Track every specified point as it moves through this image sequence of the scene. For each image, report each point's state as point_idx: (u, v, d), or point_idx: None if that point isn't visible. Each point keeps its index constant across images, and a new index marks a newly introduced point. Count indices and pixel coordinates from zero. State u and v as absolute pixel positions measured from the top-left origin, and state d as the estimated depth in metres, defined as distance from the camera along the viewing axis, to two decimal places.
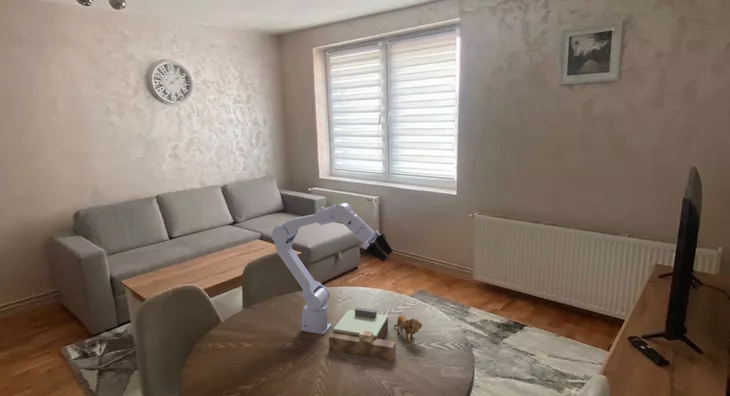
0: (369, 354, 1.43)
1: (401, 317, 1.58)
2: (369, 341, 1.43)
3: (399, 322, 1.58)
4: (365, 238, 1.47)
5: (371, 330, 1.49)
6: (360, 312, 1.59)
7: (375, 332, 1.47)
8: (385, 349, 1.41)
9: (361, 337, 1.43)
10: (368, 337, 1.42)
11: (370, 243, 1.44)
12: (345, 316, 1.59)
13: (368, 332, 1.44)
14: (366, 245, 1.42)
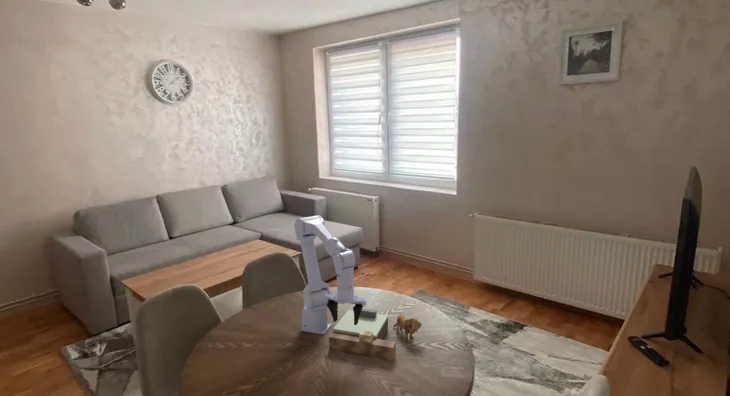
0: (369, 354, 1.43)
1: (400, 317, 1.58)
2: (369, 341, 1.43)
3: (398, 322, 1.58)
4: None
5: (371, 330, 1.49)
6: None
7: (375, 332, 1.47)
8: (385, 349, 1.41)
9: (361, 337, 1.43)
10: (368, 337, 1.42)
11: (331, 301, 1.45)
12: (345, 316, 1.59)
13: (368, 332, 1.44)
14: None
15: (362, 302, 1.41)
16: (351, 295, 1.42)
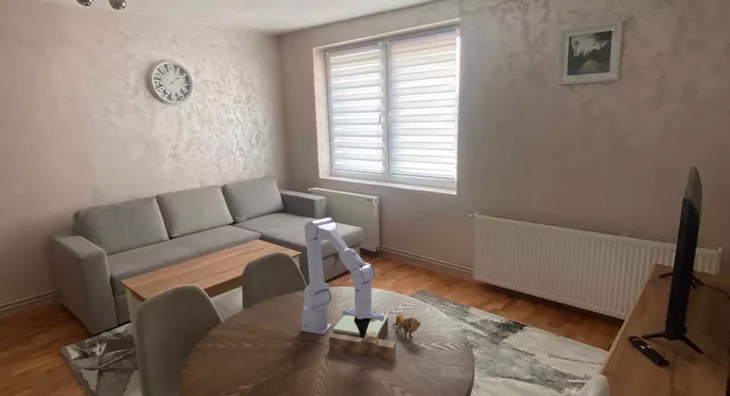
0: (369, 354, 1.43)
1: (399, 316, 1.59)
2: (375, 342, 1.42)
3: (398, 321, 1.59)
4: None
5: (371, 330, 1.49)
6: None
7: None
8: (385, 349, 1.41)
9: (367, 338, 1.43)
10: (374, 338, 1.42)
11: (349, 315, 1.44)
12: (345, 316, 1.59)
13: (374, 333, 1.44)
14: None
15: (380, 317, 1.40)
16: (369, 310, 1.41)
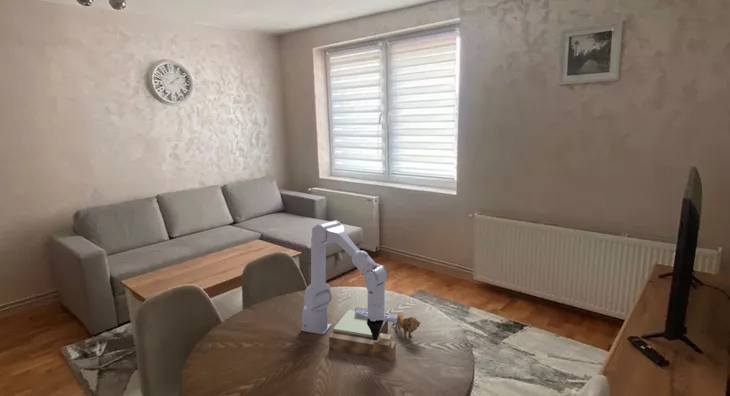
0: (369, 354, 1.43)
1: (399, 315, 1.59)
2: (388, 344, 1.41)
3: (397, 320, 1.59)
4: None
5: None
6: None
7: None
8: (385, 349, 1.41)
9: (380, 341, 1.41)
10: (387, 340, 1.40)
11: None
12: (345, 316, 1.59)
13: (386, 335, 1.42)
14: None
15: (393, 319, 1.39)
16: (382, 312, 1.39)
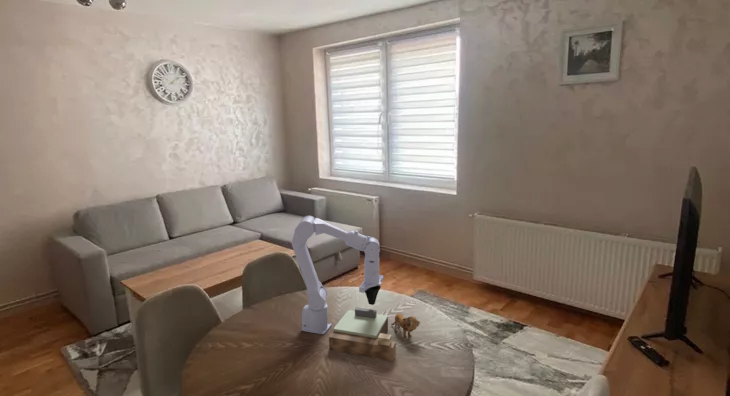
0: (369, 354, 1.43)
1: (398, 315, 1.59)
2: (388, 344, 1.41)
3: (396, 320, 1.59)
4: (367, 281, 1.56)
5: (371, 330, 1.49)
6: (360, 312, 1.59)
7: (375, 332, 1.47)
8: (385, 349, 1.41)
9: (380, 341, 1.41)
10: (387, 340, 1.40)
11: (366, 290, 1.55)
12: (345, 316, 1.59)
13: (387, 335, 1.42)
14: (362, 291, 1.53)
15: (382, 277, 1.64)
16: None
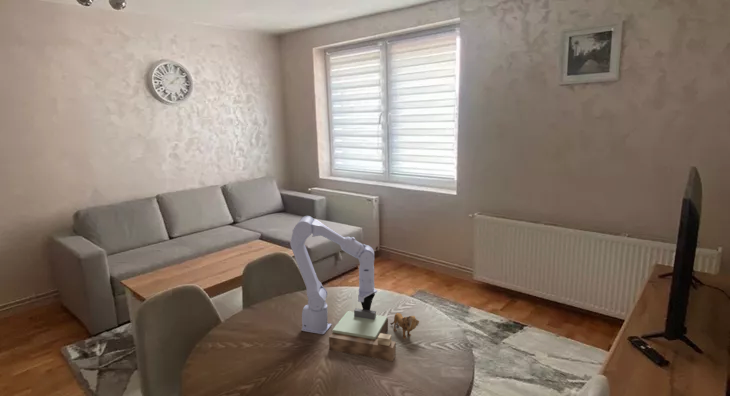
0: (369, 354, 1.43)
1: (398, 315, 1.60)
2: (388, 344, 1.41)
3: (396, 320, 1.60)
4: (364, 290, 1.56)
5: (370, 331, 1.48)
6: (359, 313, 1.58)
7: (374, 333, 1.47)
8: (385, 349, 1.41)
9: (380, 341, 1.41)
10: (387, 340, 1.40)
11: None
12: (344, 317, 1.59)
13: (387, 335, 1.42)
14: (361, 300, 1.52)
15: None
16: None
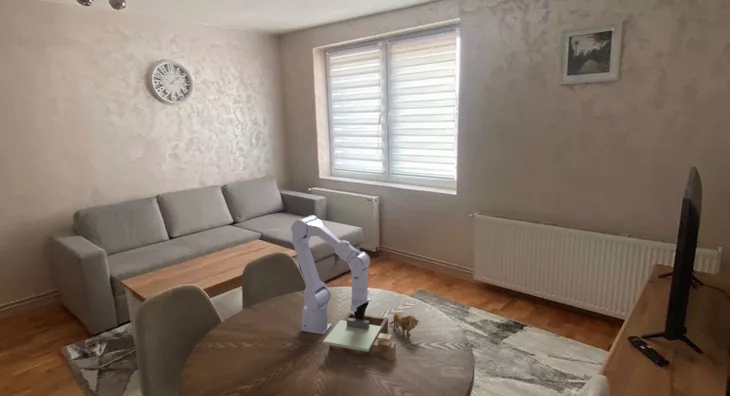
0: (369, 354, 1.43)
1: (397, 314, 1.60)
2: (388, 344, 1.41)
3: (395, 319, 1.60)
4: (357, 298, 1.49)
5: (363, 343, 1.40)
6: (352, 323, 1.51)
7: (367, 345, 1.39)
8: (385, 349, 1.41)
9: (380, 341, 1.41)
10: (387, 340, 1.40)
11: None
12: (336, 327, 1.51)
13: (387, 335, 1.42)
14: (354, 309, 1.45)
15: None
16: None
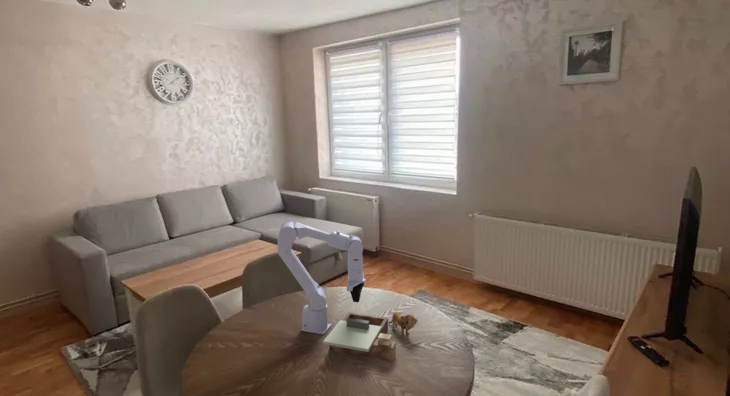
0: (369, 354, 1.43)
1: (396, 313, 1.61)
2: (388, 344, 1.41)
3: (394, 318, 1.61)
4: (353, 279, 1.58)
5: (363, 343, 1.40)
6: (352, 323, 1.51)
7: (367, 345, 1.39)
8: (385, 349, 1.41)
9: (380, 341, 1.41)
10: (387, 340, 1.40)
11: None
12: (336, 327, 1.51)
13: (387, 335, 1.42)
14: (350, 289, 1.54)
15: (363, 274, 1.67)
16: None
